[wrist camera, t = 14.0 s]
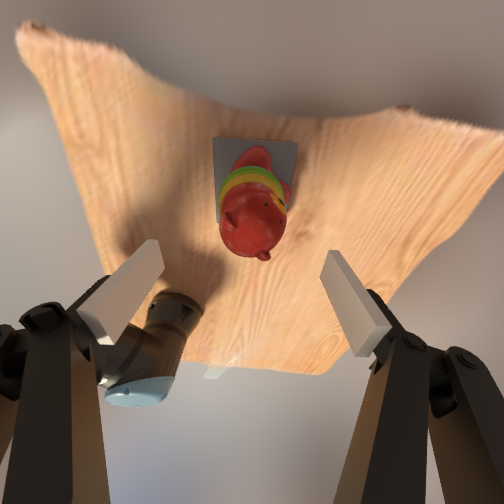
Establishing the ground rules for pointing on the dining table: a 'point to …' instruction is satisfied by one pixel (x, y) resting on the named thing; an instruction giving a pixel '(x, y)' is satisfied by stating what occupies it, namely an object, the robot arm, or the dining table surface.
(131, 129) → the dining table surface
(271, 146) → the grey block
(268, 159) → the stacking bear
